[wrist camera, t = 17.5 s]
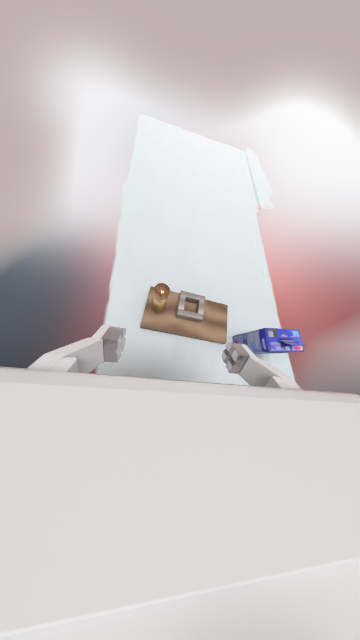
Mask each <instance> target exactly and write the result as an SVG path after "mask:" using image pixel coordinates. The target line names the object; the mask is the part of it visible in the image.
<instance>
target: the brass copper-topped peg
mask: <svg viewBox="0 0 360 640" xmlns="http://www.w3.org/2000/svg"><path fill="white" fill-rule="evenodd" d="M169 292H170V289H169V287H168V286H167V285H166V284H163V283H160V284H157V285H156V286H155V288H154V305H153V309H154V311H155V312H156V313H162V312H163V311H164V309H165V305H166V302H167V298H168V295H169Z"/></svg>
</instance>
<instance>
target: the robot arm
mask: <svg viewBox="0 0 360 640" xmlns="http://www.w3.org/2000/svg"><path fill="white" fill-rule="evenodd" d="M125 334H126V329H125V328H120V327H113V326H106V325H102V326H101V327H100V328H99V329H98V331H97V332H96V333H95V334H94V335H93V336H92V338H86V339H84V340H81V341H78V342H75V343H72V344H70V345H67V346H64V347H62V348H59V349H56V350H54V351H51V352H48V353H46V354H44V355H42V356H41V357H40V358H39V359H38V360H37V361H35V362H34V363H33V364H32V365H30V366H29V367H28V368H27V369H23V368H10V367H0V640H360V396H359V395H357V394H351V393H338V392H325V391H312V390H302V389H301V388H300V387H299V386H298V385H297V384H296V383H295V382H294V381H293V380H292V379H291V378H290V377H289V376H287V375H286V374H284V373H282V372H281V371H279V370H278V369H276V368H274V367H273V366H271V365H270V364H268V363H266V362H265V361H263V360H261V359H260V358H257V357H256V356H255V355H254V353H253V352H252V351H251V350H250V349H249V348H248V346H247V345H245V344H236V343H227V344H226V346H225V347H226V349H225V350H224V351H223V353H222V359H223V362H224V363H226V368H227V369H228V371H229V373H236V374H239V375H240V376H241V377H242V378H243V379H244V380H245V381H246V382H247V383H248V384H249V385H250V386H246V385H233V384H220V383H207V382H193V381H180V380H167V379H154V378H141V377H128V376H115V375H102V374H89V372H91V371H92V370H93V369H95V368H96V367H98V366H99V365H101V364H102V363H103V362H104V361H105V362H118V360H119V358H120V356H121V352H122V351H123V349H124V346H125V337H124V336H125Z"/></svg>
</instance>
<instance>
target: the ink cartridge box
mask: <svg viewBox="0 0 360 640" xmlns="http://www.w3.org/2000/svg"><path fill="white" fill-rule="evenodd" d="M233 339H234V343H236V344H245V345H247V346H248V348H249V349H250V350H251V351H252V352H253V353H254V354H262V353H289V352H304V347H303V346H305V345H304V344H303V343H302V339H301V336H300V332H299V330H297V329H277V328H263V329H259V330H255V331H251V332H247V333H243V334H239V335H236V336H233Z"/></svg>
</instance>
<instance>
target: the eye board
mask: <svg viewBox="0 0 360 640" xmlns="http://www.w3.org/2000/svg"><path fill="white" fill-rule="evenodd" d="M154 288H155V287H151V288H150V292H149V295H148V299H147V303H146V307H145V311H144V315H143V319H142V322H141V328H145V329H150V330H155V331H160V332H165V333H170V334H175V335H180V336H186V337H191V338H196V339H201V340H206V341H211V342H216V343H221V344H225V343H226V334H227V305H224V304H220V303H216V302H212V301H208V300H205V297H204V296H200V295H196V294H192V293H188V292H184V291H181V293H176V292H172V291H170V292H169V295H168V298H167V302H166V305H165V309H164V311H163V312H162V313H156V312H155V311H154V309H153V305H154Z"/></svg>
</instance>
